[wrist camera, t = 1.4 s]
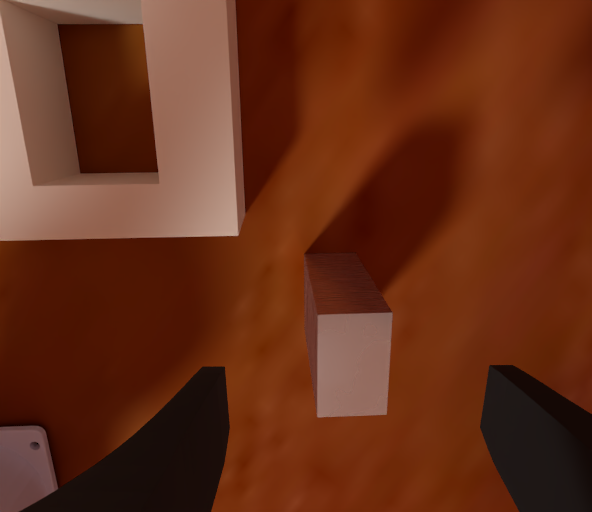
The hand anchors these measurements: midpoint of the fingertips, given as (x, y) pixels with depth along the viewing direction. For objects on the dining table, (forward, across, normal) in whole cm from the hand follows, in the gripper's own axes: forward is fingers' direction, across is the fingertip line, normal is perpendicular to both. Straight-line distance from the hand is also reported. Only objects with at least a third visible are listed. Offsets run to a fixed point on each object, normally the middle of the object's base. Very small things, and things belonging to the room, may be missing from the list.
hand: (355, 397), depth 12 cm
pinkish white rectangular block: (+10, 0, +1) cm, 10 cm away
